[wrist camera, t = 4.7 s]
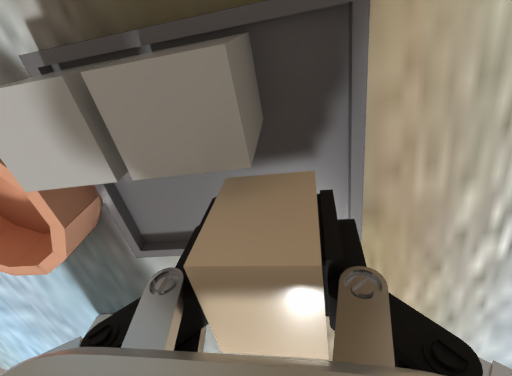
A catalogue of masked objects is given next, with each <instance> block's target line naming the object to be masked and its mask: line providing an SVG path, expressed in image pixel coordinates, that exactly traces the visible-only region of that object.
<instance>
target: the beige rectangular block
mask: <svg viewBox="0 0 512 376" xmlns="http://www.w3.org/2000/svg"><path fill="white" fill-rule="evenodd" d="M183 267H184V269H185V272H186V274H187V276H188V278H189V281H190V283H191V285H192V287H193V290H194V292H195V294H196V296H197V299H198V301H199V303H200V305H201V308H202V310H203V312H204V314H205V317H206V319H207V321H208V323H209V326H210V328H211V330H212V332H213V335H214V337H215V339H216V341H217V344H218V346H219V348H220V350H221V352H223V353H238V354H253V355H269V356H284V357H299V358H315V359H329V357H328V343H327V329H326V316H325V302H324V288H323V274H322V260H321V246H320V233H319V219H318V205H317V191H316V177H315V171H303V172H291V173H279V174H267V175H255V176H243V177H230V178H226V179H225V181H224V183H223V185H222V187H221V189H220V191H219V193H218V196H217V198H216V200H215V202H214V204H213V206H212V208H211V210H210V212H209V214H208V216H207V218H206V220H205V223H204V225H203V227H202V229H201V231H200V233H199V235H198V237H197V239H196V241H195V243H194V245H193V247H192V250H191V252H190V254H189V256H188V258H187V260H186V262H185V264H184V266H183Z"/></svg>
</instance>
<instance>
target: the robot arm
mask: <svg viewBox="0 0 512 376" xmlns="http://www.w3.org/2000/svg"><path fill="white" fill-rule="evenodd" d="M216 198H217V197H214V198H213V199H212V201H211V203H210V205H209V207H208V209H207V211H206V213H205V215H204V217H203V219H202V221H201V223H200V225H199V226H197V227H196V228H195V230H194V232H193V234H192V236H191V238H190V240H189V242H188V244H187V246H186V247H185V249H184V251H183V253H182V255H181V257H180V259H179V261H178V263H177V265H176V267H175V268H166V269H163V270H161V271H159V272H157V273H156V274H154V275H153V276H152V277H151V278H150V279H149V281H148V283H147V284H146V286H145V289H144V291H143V294H142V296H141V297H140V298H139V299H137V300H135V301H134V302H132V303H131V304H129V305H127V306H126V307H124V308H122V309H121V310H119V311H118V312H116V313H114V314H113V315H111V316H109V317H108V318H106V319H105V320H103V321H101V322H100V323H98V324H97V325H95V326H94V327H93V328H92V329H91V330H90V331H89V332H88V333H87V334H86V335H85V337H84V338H82V337H81V336H80V337H78V338H76V339H74V340H72V341H69V342H67V343H65V344H63V345H61V346H58V347H56V348H54V349H52V350H49V351H47V352H45V353H43V354H41V355H38V356H36V357H33V358H30V359H28V360H25V361H23V362H21V363H19V364H17V365H15V366H13V367H11V368H10V369H8V370H7V371H5V372H4V373H3V374H1V375H0V376H512V369H510V368H508V367H506V366H504V365H502V364H500V363H498V362H496V361H494V360H493V362H492V364H491V363H489V362H487V361H485V360H483V359H481V358H479V357H478V356H477V354H476V353H475V352H474V351H473V350H472V348H471V347H470V346H469V345H467V344H466V343H465V342H464V341H462V340H461V339H460V338H458V337H457V336H455V335H453V334H452V333H450V332H449V331H447V330H446V329H444V328H443V327H441V326H440V325H438V324H436V323H435V322H433V321H432V320H430V319H429V318H427V317H426V316H424V315H423V314H421V313H419V312H418V311H416V310H415V309H413V308H412V307H410V306H409V305H407V304H406V303H404V302H402V301H401V300H399V299H398V298H396V297H395V296H393V295H392V294H390V293H389V292H388V286H387V282H386V280H385V279H384V277H383V276H382V275H381V274H380V273H379V272H377V271H376V270H373V269H371V268H368V267H367V266H366V262H365V258H364V254H363V250H362V246H361V242H360V238H359V234H358V230H357V226H356V222H355V219H338V218H337V212H336V206H335V200H334V194H333V189H331V190H320V194H317V205H318V219H319V233H320V246H321V260H322V274H323V288H324V302H325V316H329V319H330V326H331V328H332V329H333V330H334V331H335V337H334V349H333V361H318V360H304V359H290V358H276V357H262V356H247V355H232V354H217V353H203V349H204V342H205V335H206V325H207V324H209V323H208V321H207V319H206V317H205V314H204V312H203V310H202V308H201V305H200V303H199V301H198V299H197V296H196V294H195V292H194V290H193V287H192V285H191V283H190V281H189V278H188V276H187V274H186V272H185V269H184V267H183V266H184V264H185V262H186V260H187V258H188V256H189V254H190V252H191V250H192V247H193V245H194V243H195V241H196V239H197V237H198V235H199V233H200V231H201V229H202V227H203V225H204V223H205V220H206V218H207V216H208V214H209V212H210V210H211V208H212V206H213V204H214V202H215V200H216Z"/></svg>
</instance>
